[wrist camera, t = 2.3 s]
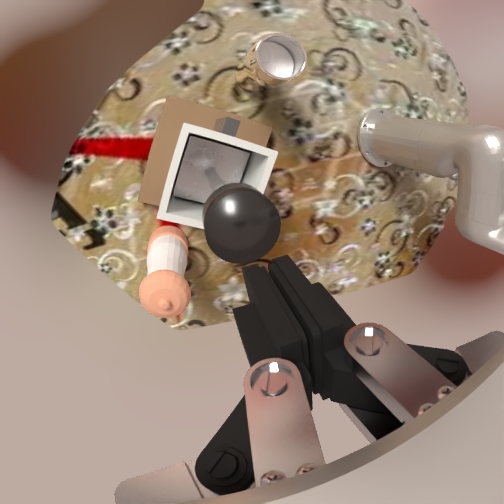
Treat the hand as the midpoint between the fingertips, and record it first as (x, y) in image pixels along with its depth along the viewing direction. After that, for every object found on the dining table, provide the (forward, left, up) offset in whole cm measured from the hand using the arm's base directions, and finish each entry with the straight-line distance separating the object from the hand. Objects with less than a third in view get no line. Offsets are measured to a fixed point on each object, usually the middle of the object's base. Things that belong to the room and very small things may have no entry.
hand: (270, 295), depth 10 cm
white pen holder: (0, 0, -40) cm, 40 cm away
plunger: (0, 0, -27) cm, 27 cm away
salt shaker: (+2, +16, -40) cm, 43 cm away
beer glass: (-3, -17, -40) cm, 43 cm away
